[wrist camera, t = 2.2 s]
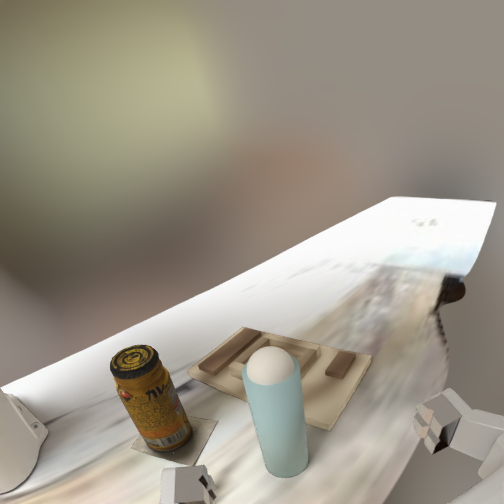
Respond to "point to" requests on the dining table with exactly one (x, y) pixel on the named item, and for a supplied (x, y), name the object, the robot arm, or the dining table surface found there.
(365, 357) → the jig
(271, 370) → the roll-on deodorant
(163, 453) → the condiment
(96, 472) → the dining table surface
